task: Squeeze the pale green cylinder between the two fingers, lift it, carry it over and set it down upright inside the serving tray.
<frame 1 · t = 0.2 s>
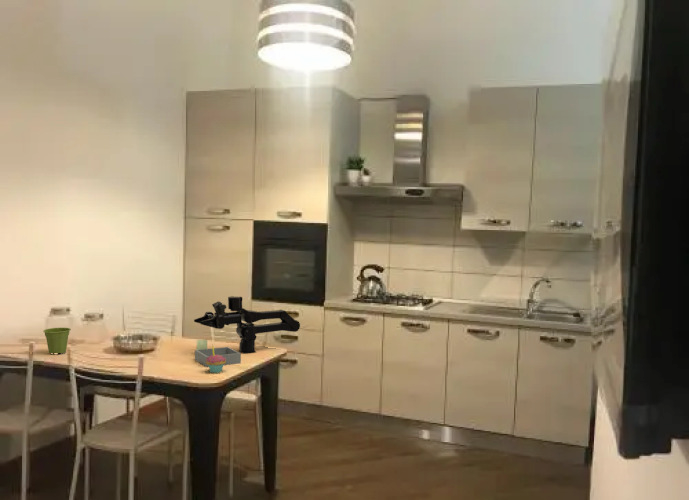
hand: (197, 321, 291), 17 cm above the table, tool horizontal, fingers open, 9 cm apart
plant pot: (57, 353, 295), on the table
serving tray: (217, 361, 284), on the table
green cylinder: (201, 355, 297), on the table
cupcake: (215, 371, 266), on the table
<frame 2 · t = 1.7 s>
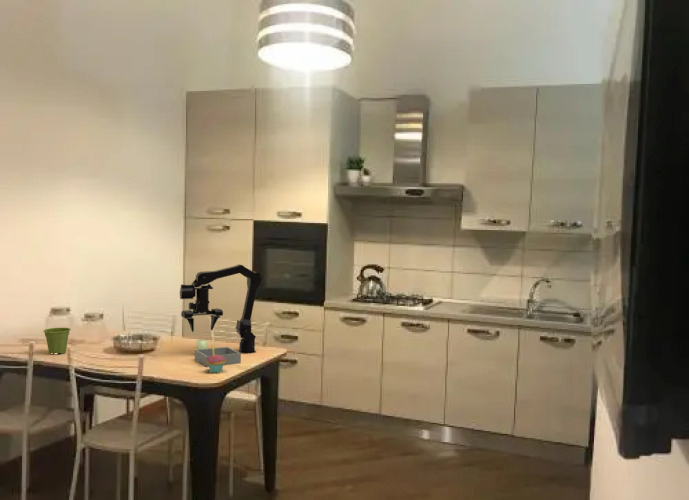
hand: (202, 331, 296), 11 cm above the table, tool pointing down, fingers open, 9 cm apart
nothing on the table moved.
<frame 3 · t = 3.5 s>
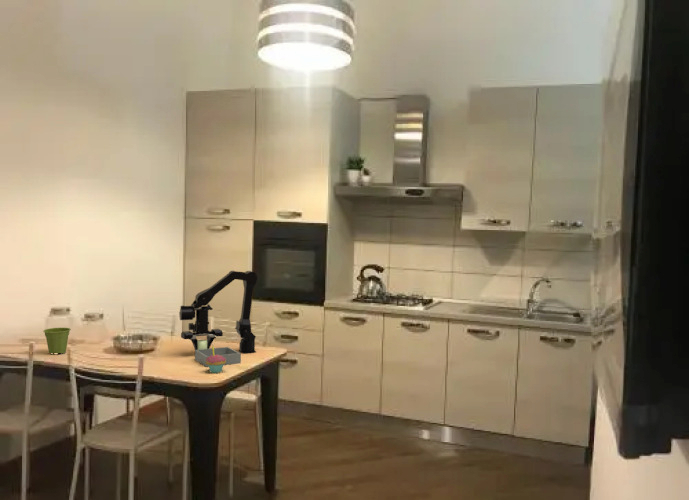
hand: (201, 351, 296), 2 cm above the table, tool pointing down, fingers closed on green cylinder, 5 cm apart
green cylinder: (201, 355, 297), on the table, touching gripper
everything else where it was.
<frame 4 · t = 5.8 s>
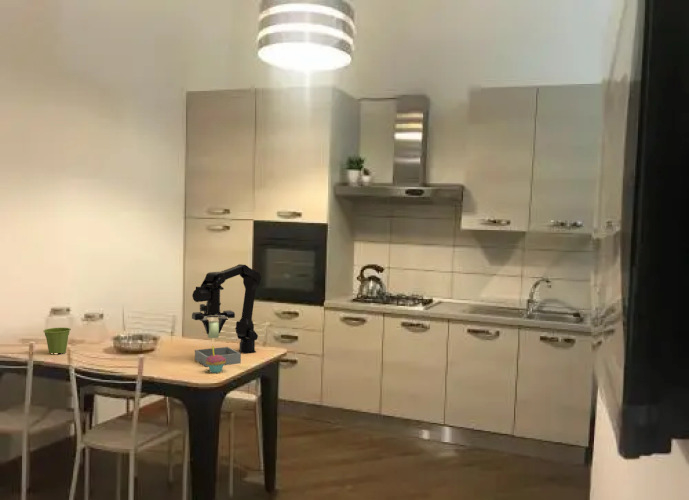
hand: (213, 333, 286), 12 cm above the table, tool pointing down, fingers closed on green cylinder, 5 cm apart
green cylinder: (213, 337, 286), point 11 cm above the table, touching gripper
everything else where it was.
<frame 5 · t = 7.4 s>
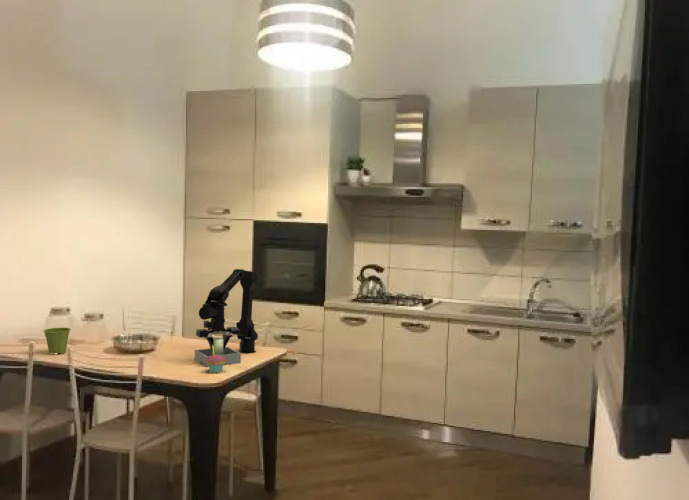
hand: (217, 350, 284), 5 cm above the table, tool pointing down, fingers closed on green cylinder, 5 cm apart
green cylinder: (217, 354, 284), point 3 cm above the table, touching gripper
everything else where it was.
when the fingers open (4 cm above the table, at t = 8.3 s): green cylinder drops 2 cm, resting on serving tray.
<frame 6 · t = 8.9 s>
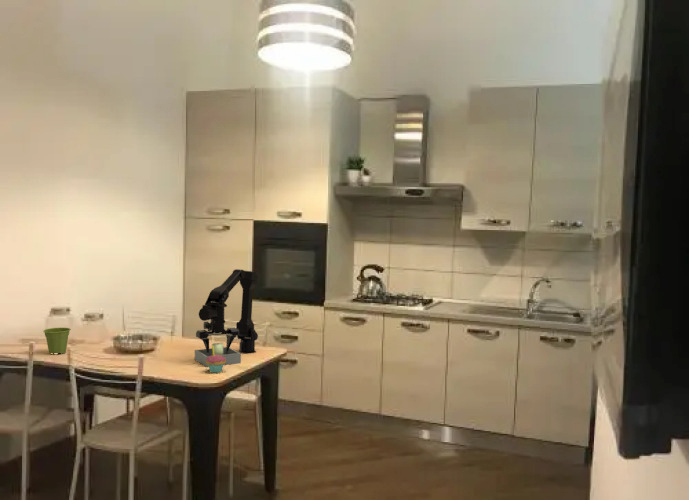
hand: (217, 351, 284), 4 cm above the table, tool pointing down, fingers open, 9 cm apart
green cylinder: (217, 359, 284), point 1 cm above the table, touching serving tray
everything else where it was.
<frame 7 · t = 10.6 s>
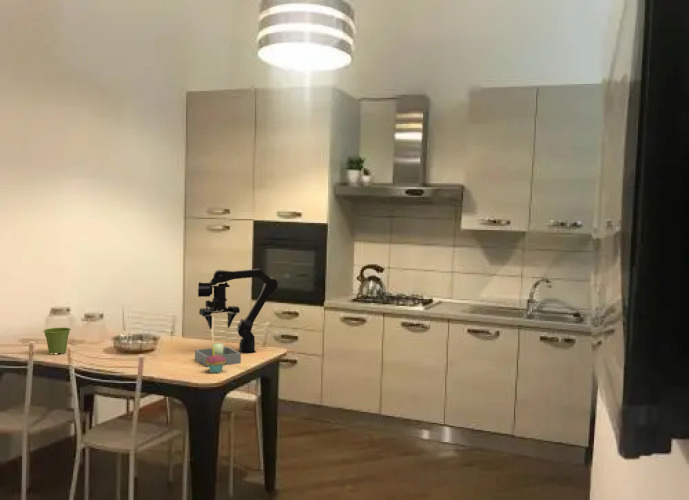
hand: (219, 328, 301), 12 cm above the table, tool pointing down, fingers open, 9 cm apart
nothing on the table moved.
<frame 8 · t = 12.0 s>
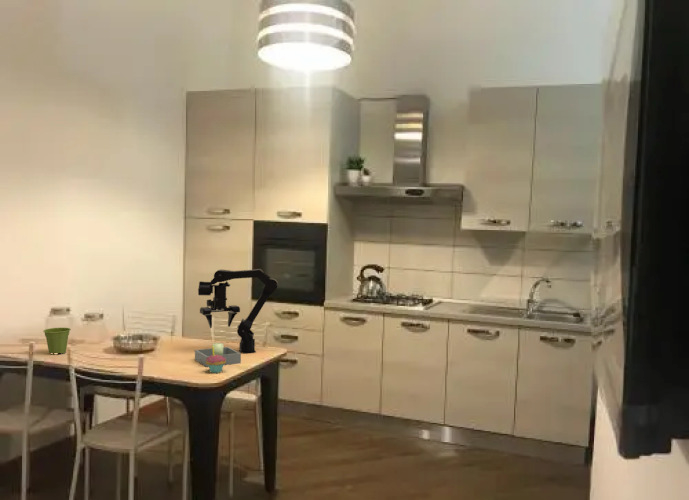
hand: (219, 327, 304), 12 cm above the table, tool pointing down, fingers open, 9 cm apart
nothing on the table moved.
at the end: green cylinder inside the target area on the serving tray (0.0 cm from its centre), point 1.0 cm above the serving tray's base; green cylinder tilted 1°; the gripper is holding nothing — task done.
